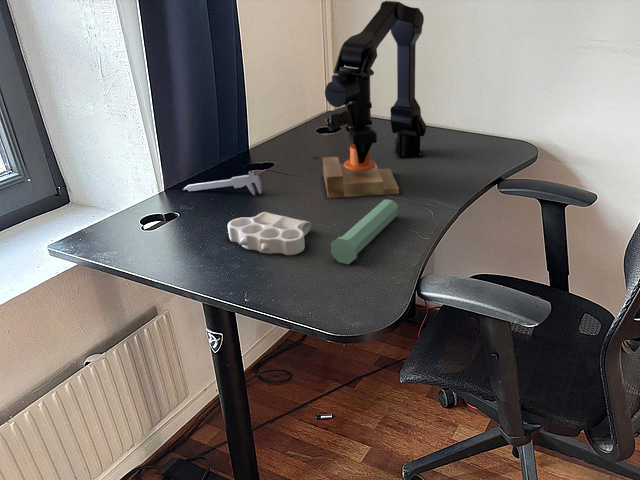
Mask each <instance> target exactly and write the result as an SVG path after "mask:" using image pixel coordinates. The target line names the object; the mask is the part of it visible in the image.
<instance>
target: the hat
mask: <svg viewBox="0 0 640 480" xmlns="http://www.w3.org/2000/svg"><path fill="white" fill-rule="evenodd" d="M375 163H376V161H375V160H373V159H371V158H370V151H369V152H368V154H367V156H366V158H365V161H364V163H359V161H358V156H357V151H356V146H355V144H352V143H350V145H349V159H346V160H345V161H344V162H343V164H344V166H345V168H347V169H349V170H353V171H366V170H370V169H373V168H374V167H375Z"/></svg>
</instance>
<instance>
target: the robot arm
mask: <svg viewBox="0 0 640 480" xmlns="http://www.w3.org/2000/svg"><path fill="white" fill-rule="evenodd" d="M424 20H425V17H424V14H423V12H422V11H421V9H420V8H419V7H414V6H413V7H412V6H408V5H406V4H404V3H402V2H400V1H394V0H385V1H381V3H380V6H379V9H378V10H377V12H376V13H375V14H374V15H373V17H372V18H371V19H370V20H369V22H368V23H367V24H366V25H365V27H364V28H363V30H362V31H360V32H359V33H356V34H354V35H352V36H350V37H349V38H348V39H346V40H345V41H344V42H343V44H342V45H341V47H340V49H339V53H338V55H337V56H338V57H337V60H336V63H335V66H334V69H333V75H331V81H329V82H328V83H327V84H326V86H325V89H324V97H325V99H326V102H327V103H328V104H329V105H330V106H331V107H334V109H333V110H331V111H327V112H326V113H324V114H323V119H324V121H325V123H326V125H327V128H328V131H330V132H331V131H335V130H336V129H338V128H341V127H342V126H344V127H345V130H346V132H347V133H348V139H349V142H350V144H355V146H356V151H357V156H358V161H359V163H364V161H365V158H366V156H367V154H368V152H369V153H370V149H371V147H372V145H373V144H375V143H377V142H378V141H377V140H378V134H377V132H376V129H374V128H373V127H372V125H373V120H372V118H371V117H372V115H371V111H372V108H373V104H372V102H371V76H373V75H375V72H374V70H373V69H372V67H373V65H374V63H375V61H376V60H377V57H378V48H379V46H380V44H381V43H382V42H383V40H384V39H385V38H386V36H387V35H388V34H389V32H390V34H391V36H392V38H393V40H394V41H395V43H396V47H397V48H396V49H397V50H396V67H397V68H396V75H397V77H396V79H397V80H396V82H397V83H396V84H397V87H396V88H397V89H396V90H397V93H396V94H397V96H396V97H397V99H396V101H395V102H394V103H393V106H391V107H390V118H389V119H390V120H389V121H390V126H391V131H392V134H396V135H397V136H396V137H395V145H394V148H395V150H394V151H395V153H396V154H397V156H398V157H399V158H420V157H421V158H422V154H421V137H425V134H426V132H427V124H426V122H425V121H424V118H423V117H422V111H421V110H422V109H421V106H420V104H419V103H418V101H417V99H416V45H417V44H416V43H417V41H418V40H419V39H420V38H419V37H420V36H421V35H422V33H423V25H424Z"/></svg>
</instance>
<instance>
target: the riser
mask: <svg viewBox="0 0 640 480" xmlns="http://www.w3.org/2000/svg"><path fill="white" fill-rule="evenodd" d="M322 170H323V171H322V172H323V181H324V184H325V190H326V195H327V198H328V199H329V198H330V199H332V198H349V197H351V198H352V197H365V196H384V195H399V194H400V187H399V186H398V183H397V181H396V179H395V177H394V174H393V172H392V170H391V168H378V165H377V163H376V162H375V167H374V168H373V169H370V170H366V171H353V170H349V169H347V168H345V166H344V163H340V159H339V157H338V156H325V157H322Z"/></svg>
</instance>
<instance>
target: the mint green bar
mask: <svg viewBox="0 0 640 480" xmlns="http://www.w3.org/2000/svg"><path fill="white" fill-rule="evenodd" d="M398 215H399V205H398V204H397V202H396V201H395V200H393V199H387V198H384V199H383V200H382V201H381V202H379V203H378V204H377V205H376V206H375V207H374V208H373V209H372V210H371V211H370V212H368V213H367V214H366V215H364V216H363V218H361V220H359V221H358V222H356V224H354V225H353V227H351V228H350V229H349V230H347V232H346V233H344V234H343V235H342V236H338V237H337V238H336V239H334V240H333V241H332V242H331V243H330V254H331V255H332V257H333V258H334V259H335V260H336V261H337V263H341V264H344V265H350V264H352V262H354V261H355V260H356V259H357V258H358V254H359V253H360V252H361V251H362V250H363V249H364V248H365V247H367V245H369V243H370V242H372V241H373V240H374V239H375V238H376V237H377V235H379V234H380V233H381V232H382V231H384V229H385V228H386V227H387V226H388V225H389V224H390V223H392V221H393V220H394V219H395V218H396V217H397V216H398Z"/></svg>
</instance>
